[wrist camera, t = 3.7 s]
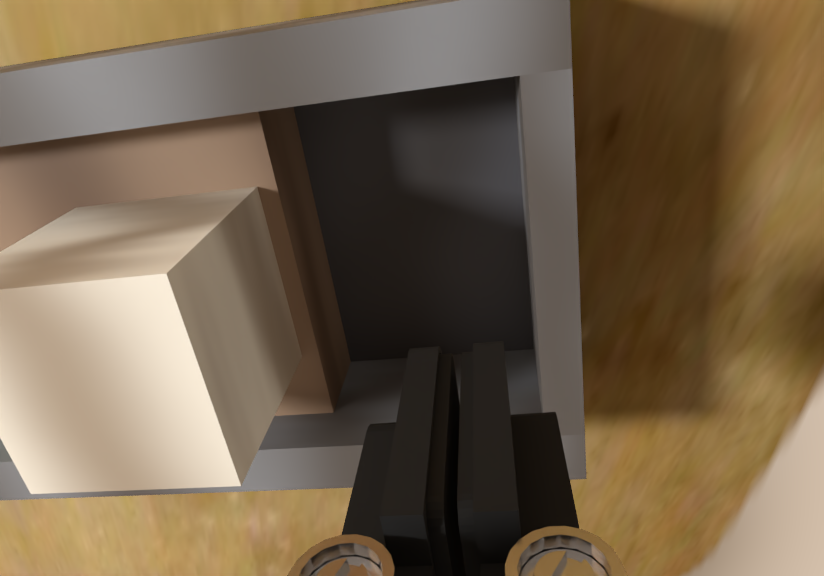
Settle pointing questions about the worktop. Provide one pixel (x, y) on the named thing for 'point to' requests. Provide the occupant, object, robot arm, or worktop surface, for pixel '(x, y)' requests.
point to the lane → (343, 197)
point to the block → (143, 344)
